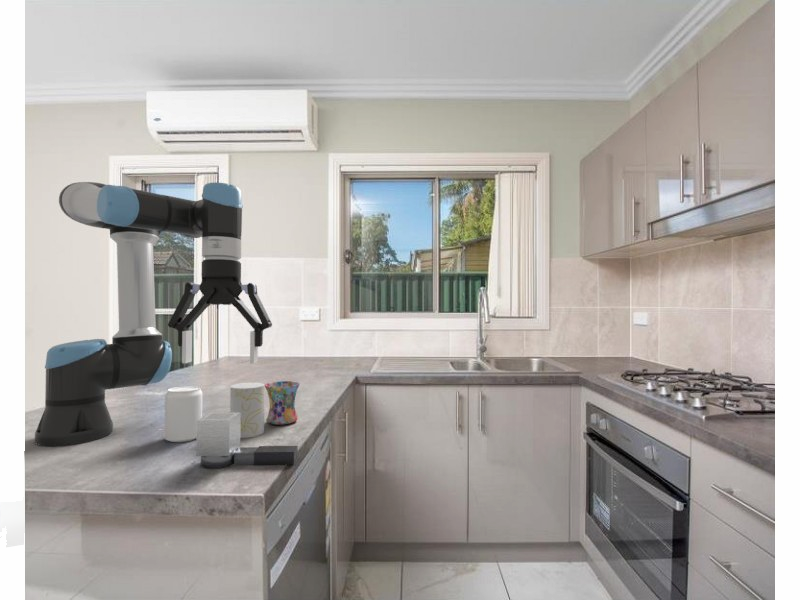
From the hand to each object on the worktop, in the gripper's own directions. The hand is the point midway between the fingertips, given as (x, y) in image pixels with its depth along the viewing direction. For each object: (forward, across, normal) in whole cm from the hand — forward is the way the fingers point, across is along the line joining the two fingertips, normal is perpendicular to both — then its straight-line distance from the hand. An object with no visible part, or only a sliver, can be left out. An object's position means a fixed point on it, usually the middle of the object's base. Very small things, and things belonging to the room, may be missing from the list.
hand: (220, 362), depth 87 cm
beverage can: (+21, -15, +16) cm, 30 cm away
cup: (+21, -1, +20) cm, 29 cm away
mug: (+21, +5, +31) cm, 38 cm away
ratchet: (+20, +6, 0) cm, 21 cm away
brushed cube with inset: (+18, 0, 0) cm, 18 cm away
